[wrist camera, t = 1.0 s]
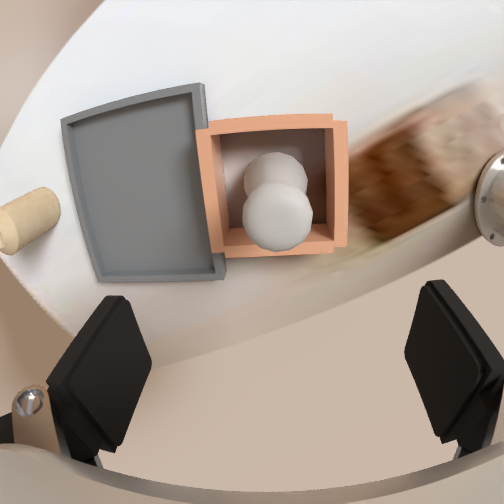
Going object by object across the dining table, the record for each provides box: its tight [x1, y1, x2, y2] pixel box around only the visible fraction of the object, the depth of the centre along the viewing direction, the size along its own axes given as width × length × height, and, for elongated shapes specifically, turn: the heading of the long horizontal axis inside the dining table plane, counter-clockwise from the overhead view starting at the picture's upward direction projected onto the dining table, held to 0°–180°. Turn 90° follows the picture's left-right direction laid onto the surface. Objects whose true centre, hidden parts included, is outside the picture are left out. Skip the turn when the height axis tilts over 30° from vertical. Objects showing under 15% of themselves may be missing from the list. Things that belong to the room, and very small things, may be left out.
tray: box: [60, 83, 227, 282], centre depth 29 cm, size 16×20×2 cm
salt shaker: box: [242, 152, 313, 252], centre depth 23 cm, size 6×6×13 cm
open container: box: [195, 114, 348, 258], centre depth 27 cm, size 12×12×4 cm
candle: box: [0, 187, 60, 255], centre depth 27 cm, size 6×6×10 cm
